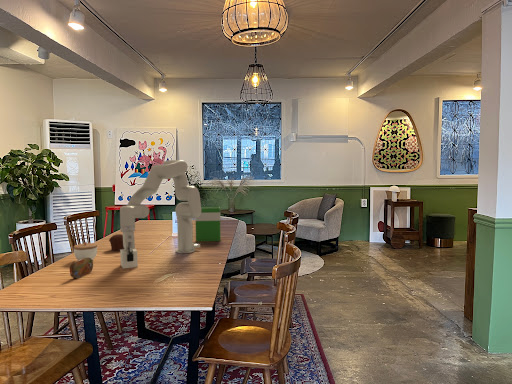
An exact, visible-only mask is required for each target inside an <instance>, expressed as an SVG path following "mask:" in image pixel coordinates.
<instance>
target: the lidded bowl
mask: <svg viewBox="0 0 512 384" xmlns="http://www.w3.org/2000/svg"><path fill="white" fill-rule="evenodd" d="M97 254H98V244H97V243H94V242H87V241H84V242H83V243H78V244H74V245H73V255H74V257H75V259H76V261H78V260H80V259H83V258H91V259H92V261H94V259H95V258H96V257H97Z"/></svg>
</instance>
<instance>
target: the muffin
mask: <svg viewBox="0 0 512 384" xmlns="http://www.w3.org/2000/svg"><path fill="white" fill-rule="evenodd" d="M108 241H109V242H110V247H111V251H113V252H120V250H122V249H124V247H123V233H120V234H119V233H118V234H114V235H112V236H110V237H109V240H108Z"/></svg>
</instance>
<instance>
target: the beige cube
mask: <svg viewBox="0 0 512 384" xmlns="http://www.w3.org/2000/svg"><path fill="white" fill-rule="evenodd" d="M132 249H133V248H132ZM128 251H129V250H128ZM119 253H120V255H119V257H120V266H121V269H130V268H131V269H132V268H137V267H139V266H138V265H139V264H138V261H139V260H138V249H136V248H135V249H133V259H134V260H133V261H129V262H128V261H127V254H128V253H127V250H126V249H122V250H120V251H119Z"/></svg>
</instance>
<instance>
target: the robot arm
mask: <svg viewBox="0 0 512 384" xmlns="http://www.w3.org/2000/svg"><path fill="white" fill-rule="evenodd" d="M187 170H188V163H187V162H186V161H185V160H183V159H169V160H168V159H167V160H165V161H163V163H162V164H155V165H153V166H151V169H150V170H149V172H148V175H147V176H146V179H145V180H144V182H143V185H142V186H141V187H139V189H137V190H136V191H135V193H133V195H132V196H131V197H130V198H129V201H128V203H127V205H122V206H121V207H120V208H119V221H120V222H119V223H120V232H121V233H122V235H123V247H124V249H126V250H127V253H128V254H127V261H128V262H129V261H133V260H134V259H133V249H136V243H135V233H134V232H135V231H136V219H145V218H147V217H148V216H149V214H150V208H149V207H148V206H147V205H145V204H142V202H143V201H144V200H145V199H147V198H150V197H152V196H154V195H155V194H156V193H157V192H158V190H159V188H160V185H161V184H162V181H163V180H171V179H172V181H173V185H174V193H175V197H176V199H177V200H179V201H181V202H179V203H177V204H176V205H175V206H176V207H175V215H176V216H175V217H176V221H177V224H176V225H177V230H176V231H177V248H176V249H175V250H174V251H175V253H177V254H190V253H194V252H196V248H200V247H201V244H197V243H194V238H193V236H194V233H193V229H194V228H193V221H192V219H196V218H198V217H199V216H200V214H201V207H202V205H201V204H202V203H201V195H200V192H199V191H200V190H199V189H198V188H197V187H196V186H194V185H189V181H188V177H187V174H186V172H187ZM182 201H183V202H182ZM132 248H133V249H132ZM128 250H129V251H128Z"/></svg>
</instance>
